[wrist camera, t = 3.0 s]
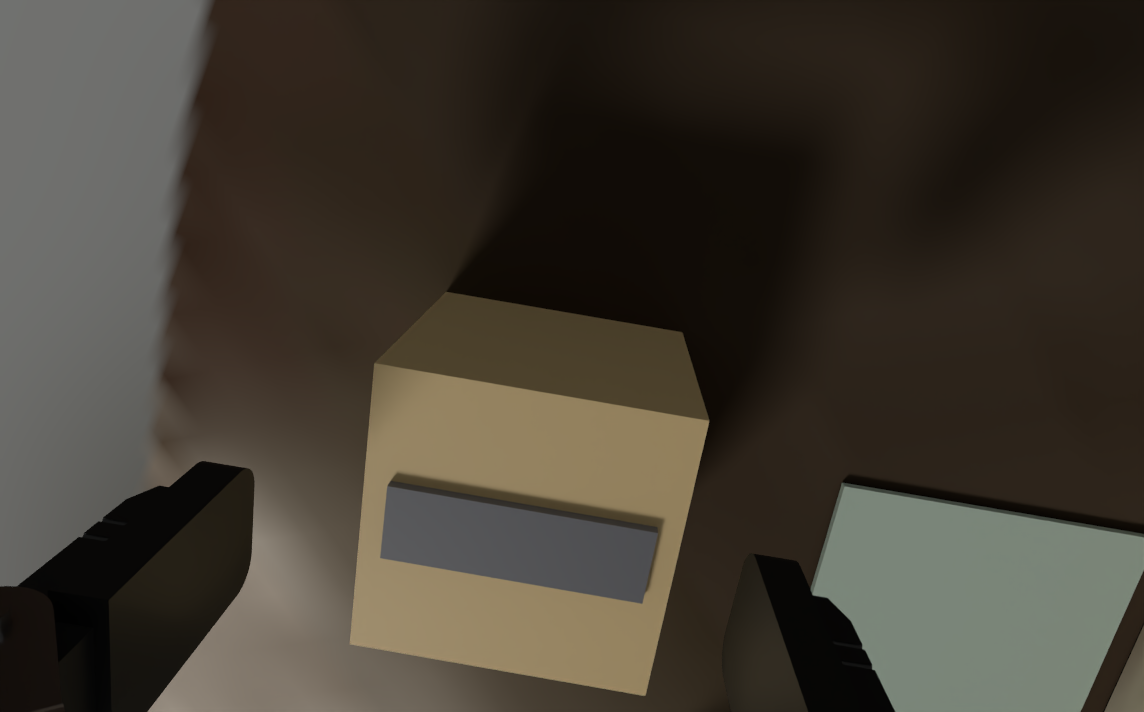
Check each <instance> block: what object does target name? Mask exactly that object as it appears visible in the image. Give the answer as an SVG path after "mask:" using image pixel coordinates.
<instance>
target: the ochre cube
mask: <svg viewBox="0 0 1144 712" xmlns="http://www.w3.org/2000/svg"><path fill="white" fill-rule="evenodd" d="M708 425H709V418H708V415H707V411H706V408H705V405H704V401H703V398H702V395H701V392H700V388H699V385H698V382H697V379H696V375H695V372H694V369H693V365H692V362H691V359H690V356H689V352H688V349H687V346H686V342H685V339H684V336H683V333H682V332H678V331H672V330H666V329H660V328H654V327H649V326H643V325H637V324H631V323H625V322H619V321H614V320H608V319H602V318H596V317H590V316H584V315H579V314H573V313H567V312H561V311H555V310H549V309H544V308H538V307H532V306H526V305H520V304H514V303H508V302H503V301H497V300H491V299H485V298H479V297H473V296H468V295H462V294H456V293H450V292H446V293H445V294H444V295H443V296H442V297H441V298H440V299H439V300H438V301H437V302H436V303H435V304H434V305H433V306H432V307H431V308H429V309H428V310H427V311H426V312H425V313H424V314H423V315H422V316H421V317H420V318H419V319H418V320H417V321H416V322H415V323H414V324H413V325H412V326H411V327H410V328H409V329H408V330H407V331H406V332H405V333H404V334H403V335H402V336H401V337H400V338H399V339H398V340H397V341H396V342H395V343H394V344H393V345H392V346H391V347H390V348H389V349H388V350H387V351H386V352H385V353H384V354H383V355H382V356H381V357H380V358H379V359H378V360H377V361H376V362H375V363H374V375H373V386H372V397H371V409H370V420H369V432H368V443H367V454H366V466H365V477H364V488H363V500H362V511H361V523H360V534H359V545H358V557H357V568H356V580H355V591H354V602H353V614H352V625H351V636H350V644H352V645H357V646H363V647H369V648H374V649H380V650H386V651H392V652H397V653H403V654H409V655H414V656H420V657H426V658H431V659H437V660H443V661H449V662H454V663H460V664H466V665H471V666H477V667H483V668H489V669H494V670H500V671H506V672H511V673H517V674H523V675H529V676H534V677H540V678H546V679H551V680H557V681H563V682H568V683H574V684H580V685H586V686H591V687H597V688H603V689H608V690H614V691H620V692H626V693H631V694H637V695H643V696H645V695H646V691H647V686H648V682H649V678H650V674H651V669H652V665H653V661H654V656H655V652H656V648H657V644H658V639H659V635H660V631H661V626H662V622H663V618H664V614H665V609H666V605H667V601H668V596H669V592H670V588H671V584H672V579H673V575H674V571H675V566H676V562H677V558H678V554H679V549H680V545H681V541H682V536H683V532H684V528H685V524H686V519H687V515H688V511H689V506H690V502H691V498H692V494H693V489H694V485H695V481H696V476H697V472H698V468H699V464H700V459H701V455H702V451H703V446H704V442H705V438H706V434H707V429H708Z"/></svg>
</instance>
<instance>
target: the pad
mask: <svg viewBox="0 0 1144 712" xmlns="http://www.w3.org/2000/svg"><path fill="white" fill-rule="evenodd" d="M1143 570H1144V534H1141V533H1136V532H1130V531H1124V530H1118V529H1112V528H1106V527H1100V526H1094V525H1089V524H1083V523H1077V522H1071V521H1065V520H1059V519H1053V518H1047V517H1042V516H1036V515H1030V514H1024V513H1018V512H1012V511H1006V510H1000V509H995V508H989V507H983V506H977V505H971V504H965V503H959V502H953V501H948V500H942V499H936V498H930V497H924V496H918V495H912V494H906V493H901V492H895V491H889V490H883V489H877V488H871V487H865V486H859V485H854V484H848V483H842V485H841V488H840V492H839V495H838V498H837V502H836V505H835V509H834V512H833V515H832V519H831V522H830V525H829V529H828V532H827V536H826V539H825V542H824V546H823V549H822V552H821V556H820V559H819V563H818V566H817V569H816V573H815V576H814V580H813V583H812V586H811V592H812V595H814V596H820V597H826V598H828V599H829V600H830V601H831V602H832V603H833V604H834V605H835V606H836V607H837V608H838V609H839V610H840V611H841V612H842V613H843V614H844V615H845V616H846V617H847V618H849V619H850V620H851V622H852V624H853V626H854V628H855V630H856V632H857V634H858V637H859V639H860V641H861V643H862V649H864V650H865V651H866V653H867V655H868V657H869V659H870V661H871V663H872V670H875V671H876V673H877V675H878V677H879V679H880V681H881V684H882V686H883V688H884V690H885V692H886V694H887V696H888V698H889V700H890V702H891V704H892V706H893V708H894V710H895V712H1081V709H1082V707H1083V705H1084V703H1085V700H1086V698H1087V696H1088V694H1089V691H1090V689H1091V687H1092V685H1093V682H1094V680H1095V678H1096V676H1097V674H1098V671H1099V669H1100V667H1101V665H1102V662H1103V660H1104V658H1105V656H1106V653H1107V651H1108V649H1109V647H1110V644H1111V642H1112V640H1113V638H1114V635H1115V633H1116V631H1117V629H1118V626H1119V624H1120V622H1121V620H1122V617H1123V615H1124V613H1125V611H1126V608H1127V606H1128V604H1129V602H1130V600H1131V597H1132V595H1133V593H1134V591H1135V588H1136V586H1137V584H1138V582H1139V579H1140V577H1141V575H1142V573H1143Z"/></svg>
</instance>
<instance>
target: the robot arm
mask: <svg viewBox="0 0 1144 712" xmlns="http://www.w3.org/2000/svg"><path fill="white" fill-rule="evenodd" d="M253 506H254V476H253V473H252V471H251V470H250V469H248V468H242V467H236V466H230V465H224V464H218V463H212V462H206V461H201V462H199V463H197V464H196V465H195V466H194V467H192V468H191V469H190V470H189V471H188V472H186V473H185V474H184V475H183V476H182V477H181V478H179V479H178V480H177V481H176V482H175V483H173V484H172V485H171V486H170V487H164V486H157V487H155V488H153V489H150V490H148V491H145V492H143V493H140V494H138V495H136V496H133V497H131V498H128V499H126V500H125V501H124V502H122V503H121V504H120V505H119V506H117V507H116V508H115V509H114V510H112V511H111V512H110V513H108V514H107V515H106V516H105V517H103V521H102V522H97V523H96V524H95V525H94V526H92V527H91V528H90V529H89V530H87V531H86V532H85V533H84V535H83V537H78V538H77V539H76V540H75V541H73V542H72V543H71V544H70V545H68V546H67V547H66V548H65V549H63V550H62V551H61V552H59V553H58V554H57V555H56V556H54V557H53V558H52V559H51V560H49V561H48V562H47V563H46V564H44V565H43V566H42V567H41V568H39V569H38V570H37V571H36V572H34V573H33V574H32V575H31V576H29V577H28V578H27V579H26V580H24V581H23V582H22V583H20V584H19V585H18V586H1V587H0V712H147V711H148V710H149V709H150V707H151V706H152V705H153V704H154V702H155V701H156V700H157V698H158V697H159V696H160V694H161V693H162V692H163V691H164V689H165V688H166V687H167V685H168V684H169V683H170V682H171V680H172V679H173V678H174V676H175V675H176V674H177V672H178V671H179V670H180V669H181V667H182V666H183V665H184V663H185V662H186V661H187V660H188V658H189V657H190V656H191V654H192V653H193V652H194V650H195V649H196V648H197V647H198V645H199V644H200V643H201V641H202V640H203V639H204V637H205V636H206V635H207V634H208V632H209V631H210V630H211V628H212V627H213V626H214V625H215V623H216V622H217V621H218V619H219V618H220V617H221V615H222V614H223V613H224V612H225V610H226V609H227V608H228V606H229V605H230V604H231V602H232V601H233V600H234V599H235V597H236V596H237V595H238V593H239V592H240V590H241V588H242V586H243V584H244V582H245V579H246V576H247V573H248V570H249V566H250V561H251V553H252V530H253ZM722 670H723V678H724V682H725V687H726V692H727V696H728V701H729V706H730V711H731V712H895V710H894V708H893V706H892V704H891V702H890V700H889V698H888V696H887V694H886V692H885V690H884V688H883V686H882V684H881V681H880V679H879V677H878V675H877V673H876V671H875V670H872V663H871V661H870V659H869V657H868V655H867V653H866V651H865V650H864V649H862V643H861V641H860V639H859V637H858V634H857V632H856V630H855V628H854V626H853V624H852V622H851V620H850V619H849V618H847V617H846V616H845V615H844V614H843V613H842V612H841V611H840V610H839V609H838V608H837V607H836V606H835V605H834V604H833V603H832V602H831V601H830V600H829V599H828V598H826V597H820V596H814V595H812V592H811V590H810V588H809V585H808V583H807V581H806V578H805V576H804V574H803V572H802V569H801V567H800V565H799V563H798V562H797V561H794V560H788V559H782V558H776V557H770V556H764V555H758V554H752V553H751V554H749V555H748V556H747V558H746V560H745V562H744V565H743V568H742V572H741V576H740V579H739V583H738V587H737V591H736V594H735V598H734V602H733V606H732V609H731V613H730V617H729V621H728V625H727V628H726V632H725V637H724V642H723V651H722Z"/></svg>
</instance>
